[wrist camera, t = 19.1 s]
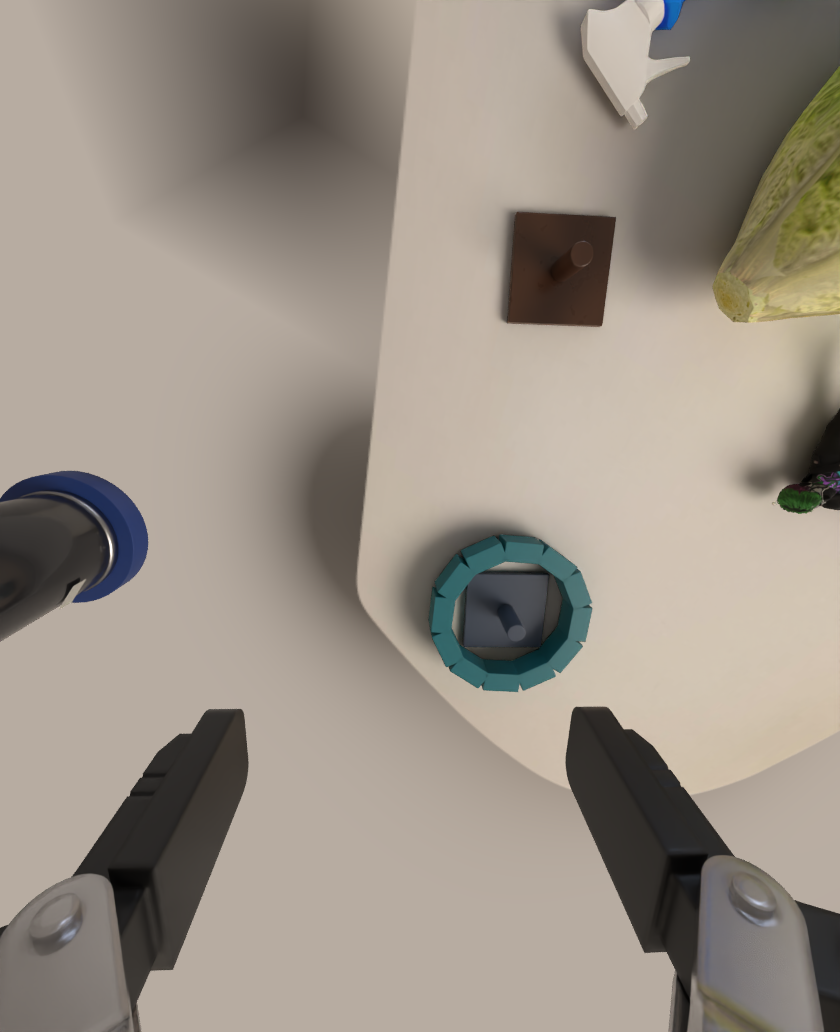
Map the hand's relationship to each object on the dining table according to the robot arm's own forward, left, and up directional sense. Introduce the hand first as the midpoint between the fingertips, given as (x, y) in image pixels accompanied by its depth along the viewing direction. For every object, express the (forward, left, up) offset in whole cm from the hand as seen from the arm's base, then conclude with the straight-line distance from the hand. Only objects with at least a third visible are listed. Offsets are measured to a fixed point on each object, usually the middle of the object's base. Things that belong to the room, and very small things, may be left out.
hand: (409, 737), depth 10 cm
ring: (+10, -11, -28) cm, 31 cm away
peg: (+10, -11, -28) cm, 32 cm away
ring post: (+12, +18, -28) cm, 35 cm away
